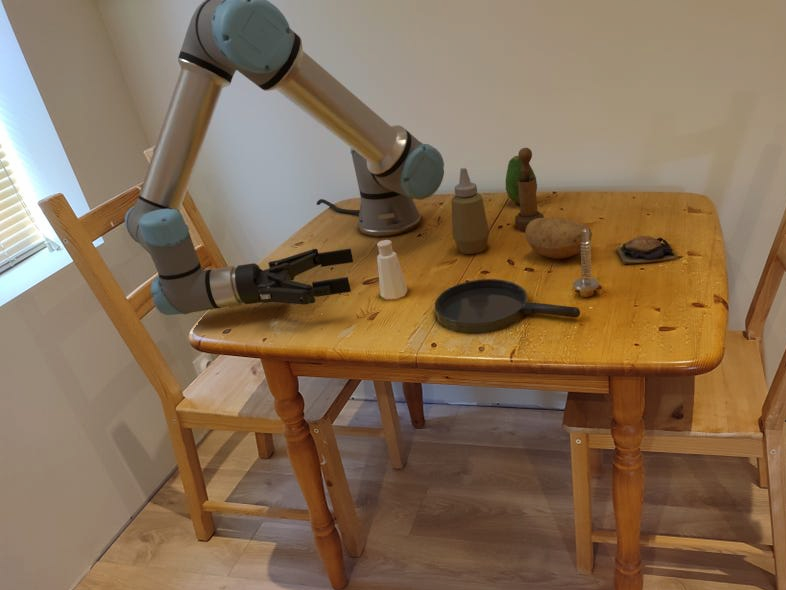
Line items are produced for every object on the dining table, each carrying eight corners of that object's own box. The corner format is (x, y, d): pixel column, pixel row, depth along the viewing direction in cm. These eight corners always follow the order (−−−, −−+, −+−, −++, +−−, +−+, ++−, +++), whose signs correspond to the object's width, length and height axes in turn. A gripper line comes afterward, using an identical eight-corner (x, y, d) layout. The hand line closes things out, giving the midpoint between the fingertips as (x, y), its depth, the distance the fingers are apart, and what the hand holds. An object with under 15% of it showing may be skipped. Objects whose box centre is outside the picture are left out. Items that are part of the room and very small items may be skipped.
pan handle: (519, 313, 116) (518, 304, 115) (523, 307, 118) (523, 299, 117) (578, 320, 112) (578, 311, 111) (581, 314, 114) (581, 305, 113)
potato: (584, 269, 130) (583, 232, 126) (519, 262, 136) (516, 226, 132) (599, 250, 137) (598, 214, 133) (537, 244, 143) (535, 209, 139)
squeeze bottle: (496, 243, 146) (489, 163, 136) (481, 258, 140) (472, 175, 130) (464, 240, 149) (454, 162, 139) (448, 255, 143) (437, 174, 133)
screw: (574, 300, 120) (572, 288, 124) (601, 298, 119) (597, 286, 123) (572, 234, 113) (570, 224, 117) (601, 232, 112) (597, 221, 116)
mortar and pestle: (511, 230, 151) (505, 152, 141) (520, 220, 156) (515, 144, 146) (539, 232, 149) (534, 152, 139) (547, 221, 154) (543, 144, 144)
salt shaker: (396, 302, 127) (386, 249, 121) (375, 297, 129) (364, 245, 123) (413, 289, 130) (404, 238, 124) (392, 285, 133) (382, 235, 127)
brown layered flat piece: (623, 266, 130) (624, 249, 128) (615, 249, 137) (615, 233, 135) (677, 260, 129) (678, 243, 127) (666, 244, 136) (667, 227, 134)
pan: (420, 326, 118) (418, 316, 116) (459, 284, 130) (458, 275, 129) (508, 338, 111) (507, 328, 110) (540, 293, 124) (540, 283, 123)
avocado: (508, 198, 170) (505, 152, 163) (538, 197, 168) (536, 150, 162) (505, 209, 163) (501, 162, 157) (536, 208, 162) (534, 160, 155)
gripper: (256, 275, 137) (356, 261, 138) (233, 334, 116) (352, 316, 117) (245, 242, 133) (349, 227, 134) (220, 297, 112) (343, 279, 113)
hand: (350, 269), depth 126 cm, fingers open, 13 cm apart
